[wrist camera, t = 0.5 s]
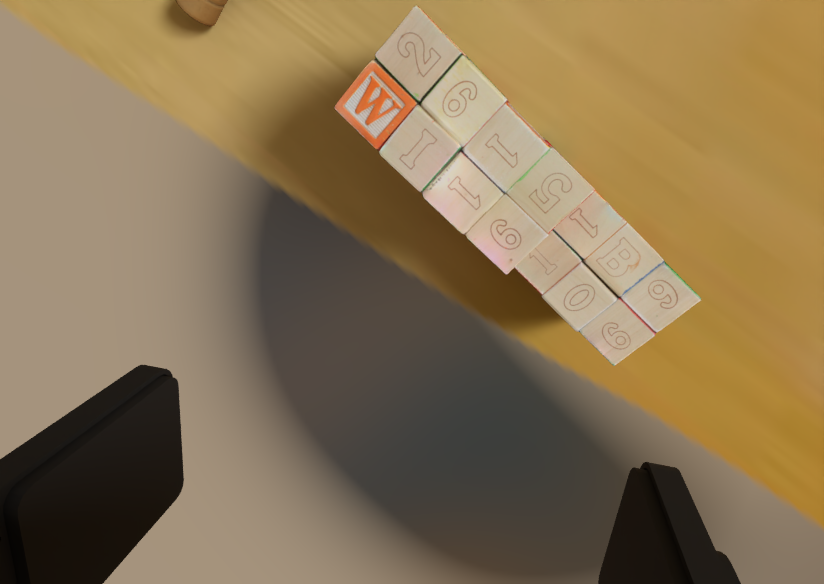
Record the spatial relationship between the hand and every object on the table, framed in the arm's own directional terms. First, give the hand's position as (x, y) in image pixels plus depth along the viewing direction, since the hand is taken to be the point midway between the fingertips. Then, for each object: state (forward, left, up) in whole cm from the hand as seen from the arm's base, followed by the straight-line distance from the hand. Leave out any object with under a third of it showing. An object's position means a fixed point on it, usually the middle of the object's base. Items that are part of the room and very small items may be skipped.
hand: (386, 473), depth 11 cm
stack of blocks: (-4, 0, -31) cm, 31 cm away
